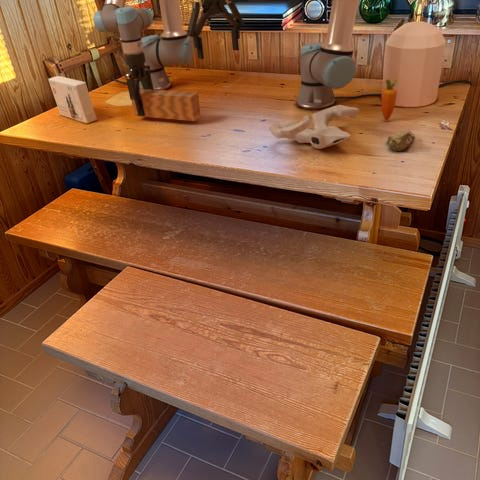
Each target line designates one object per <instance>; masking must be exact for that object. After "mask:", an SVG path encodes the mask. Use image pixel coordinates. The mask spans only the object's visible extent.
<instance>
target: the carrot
mask: <svg viewBox="0 0 480 480" xmlns="http://www.w3.org/2000/svg"><path fill="white" fill-rule="evenodd" d="M396 81H397V79H395V80H394V82H393V84H391V82H390V79H386V83H387V85H386V87H387V88H386V89H384V90H383V91H382V90H381V93H382V98H381V97H380V99H381V100H380V101H381V102H380V104H381V112H382V113H381V114H382V117H383V119H384V120H385V121H386V122H388V121H389V119H390V118H391V117H392V114H393V112H394V109H395V107H396V106H395V102H396V95H397V91H396V90H395V89H394V88H393V86H394V84H395V83H396ZM389 85H390V86H389ZM391 85H392V86H391Z"/></svg>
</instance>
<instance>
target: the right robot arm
mask: <svg viewBox="0 0 480 480" xmlns="http://www.w3.org/2000/svg"><path fill="white" fill-rule="evenodd" d="M359 1H360V0H332V3H331V8H330V14H329V19H328V25H327V26H328V27H327V32H326V38H325V41H320V42H312V43H308V44H304V45H302V46H301V48H300V88H299V90H298V94H297V97H296V106H297V107H298V108H300V109H303V110H310V111H317V110H318V111H319V110H320V111H321V110H325V109H328V108H330V107H334V106H335V104H336V100H354V99H359V98H364V97H381V93H366V94H365V93H363V94H360V95H359V94H358V95H354V96H335V93H334V90H340V89H343V88H344V87H346V86H347V85H349V84H350V83H351V81H352V80H353V79H354V77H355V75H356V74H355V73H356V69H357V68H356V63H355V61H354V59H353V55H354V48H353V46H352V45H351V44H352V43H351V42H352V38H353V32H354V28H355V22H356V17H357V11H358V8H359V7H358V6H359ZM226 4H227V6H228V9H229V10H230V12H231V13H230V12H229V10H228V9H227V8H226V6H225V5H226ZM191 7H192V8H191V9H192V10H191V14H190V18H189V21H188V25H187V30H186V32H187V37H190V38H191V37H192V42H193V48H194V49H196V55H197V59H200V60H205V55H204V46H203V37H201V33H202V31H203V29H204V26H205V25H206V23H207V20H208V18H210V16H215V15H220V14H221V15H222V16H223V17H224V19H225V20H226V21H227V22H228V23H229V25H231V27H232V28H230V35H231V45H232V50H233V51H238V52H239V51H240V44H239V39H241V34H240V30H241V29H242V26H245V21H244V20H243V17H242V15H241V14H240V11H239V9H238V6H237V5H236V3H235V0H200V1H194V0H193V1H192V3H191ZM201 9H202V10H201ZM200 10H201V12H200ZM199 15H200V16H199ZM458 83H466V84H468V85H471V86H472V85H473V83H472V82H471V81H470V80H467V79H458V80H453V81H447V82H443V83H439V88H440V87H444V86H447V85H452V84H458Z"/></svg>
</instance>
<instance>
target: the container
mask: <svg viewBox="0 0 480 480" xmlns="http://www.w3.org/2000/svg"><path fill="white" fill-rule="evenodd" d="M446 44H447V41H446V39H445V36H444V35H443V33H442V30H441V29H440V28H438V27H437V26H435V25H434V24H432V23H430V22H426V21H422V20H417V21H410V22H405V23H404V24H402V25H401V26H400V27H398V28H396V29H395V30H394V31H392V33H391V35H390V36H389V37H388V38H387V40H386V41H385V45H384V46H385V47H384V58H383V68H382V69H383V71H382V81H381V93H380V94H381V96H380V99H381V98H382V91H383V90H384V89H386V88H387V87H386V85H387V83H386V79H390V82H391V84H393V82H394V80H395V79H397V81H396V83H395V84H394V86H393V88H394V89H395V90H396V91H397V95H396V102H395V106H394V107H404V108H413V107H414V108H417V107H424V106H429V105H431V104H433V103H435V102H436V101H437V99H438V94H439V93H438V92H439V88H440V87H439V85H440V81H441V75H442V68H443V63H444V55H445V49H446ZM389 86H390V85H389ZM391 86H392V85H391Z"/></svg>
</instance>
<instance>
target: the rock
mask: <svg viewBox="0 0 480 480" xmlns="http://www.w3.org/2000/svg"><path fill="white" fill-rule="evenodd" d="M415 139H416V135H415V134H414V132H412V131H411V130H408V129H407V130H404V131H398V132H396V133H394V134H393V135H392V134H391V135H389V136H388V137H387V143H388V145H387V146H388V147H389V149H391V150H392V151H395V152H404V151H406V150H407V148H409V145H410V144H411V143H412V142H413V141H414V140H415Z"/></svg>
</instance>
